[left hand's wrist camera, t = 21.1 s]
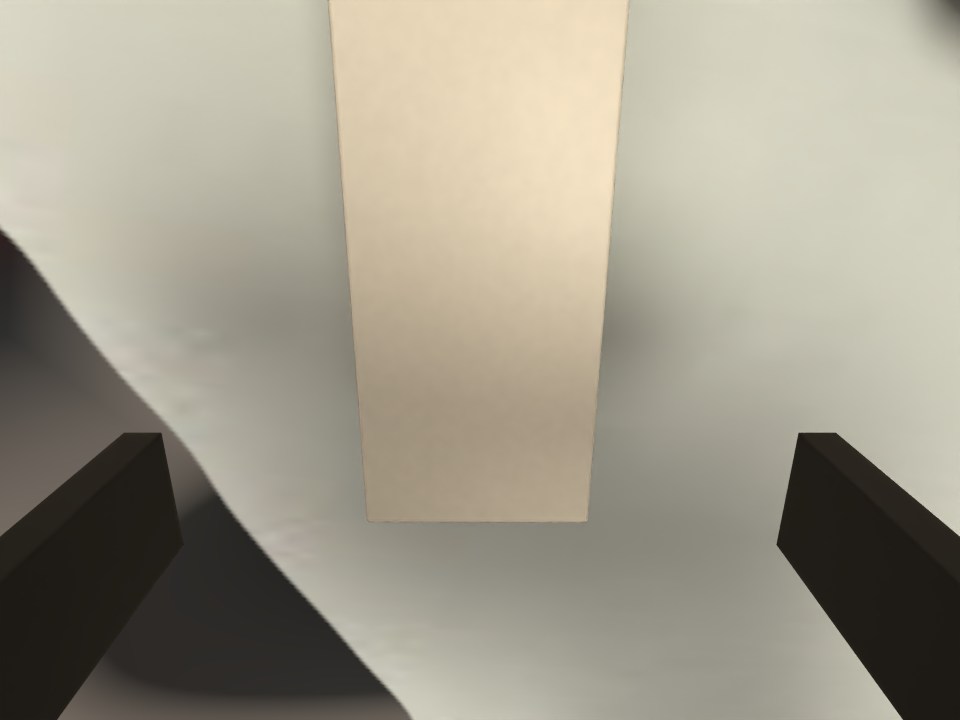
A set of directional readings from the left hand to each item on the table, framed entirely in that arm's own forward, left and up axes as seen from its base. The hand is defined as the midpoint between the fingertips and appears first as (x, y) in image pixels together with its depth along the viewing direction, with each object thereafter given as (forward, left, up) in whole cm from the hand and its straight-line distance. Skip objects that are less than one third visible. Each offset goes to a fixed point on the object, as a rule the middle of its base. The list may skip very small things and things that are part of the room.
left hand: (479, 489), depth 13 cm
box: (+4, +6, -11) cm, 13 cm away
